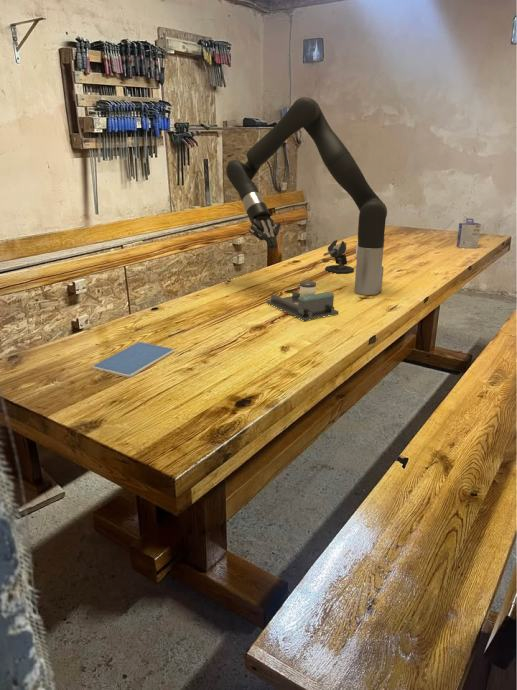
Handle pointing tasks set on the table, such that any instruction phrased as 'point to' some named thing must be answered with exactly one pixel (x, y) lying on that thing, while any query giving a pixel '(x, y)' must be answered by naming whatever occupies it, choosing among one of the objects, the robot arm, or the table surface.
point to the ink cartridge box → (468, 234)
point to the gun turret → (338, 259)
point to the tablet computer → (133, 359)
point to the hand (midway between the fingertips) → (274, 248)
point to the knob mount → (305, 305)
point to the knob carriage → (307, 288)
